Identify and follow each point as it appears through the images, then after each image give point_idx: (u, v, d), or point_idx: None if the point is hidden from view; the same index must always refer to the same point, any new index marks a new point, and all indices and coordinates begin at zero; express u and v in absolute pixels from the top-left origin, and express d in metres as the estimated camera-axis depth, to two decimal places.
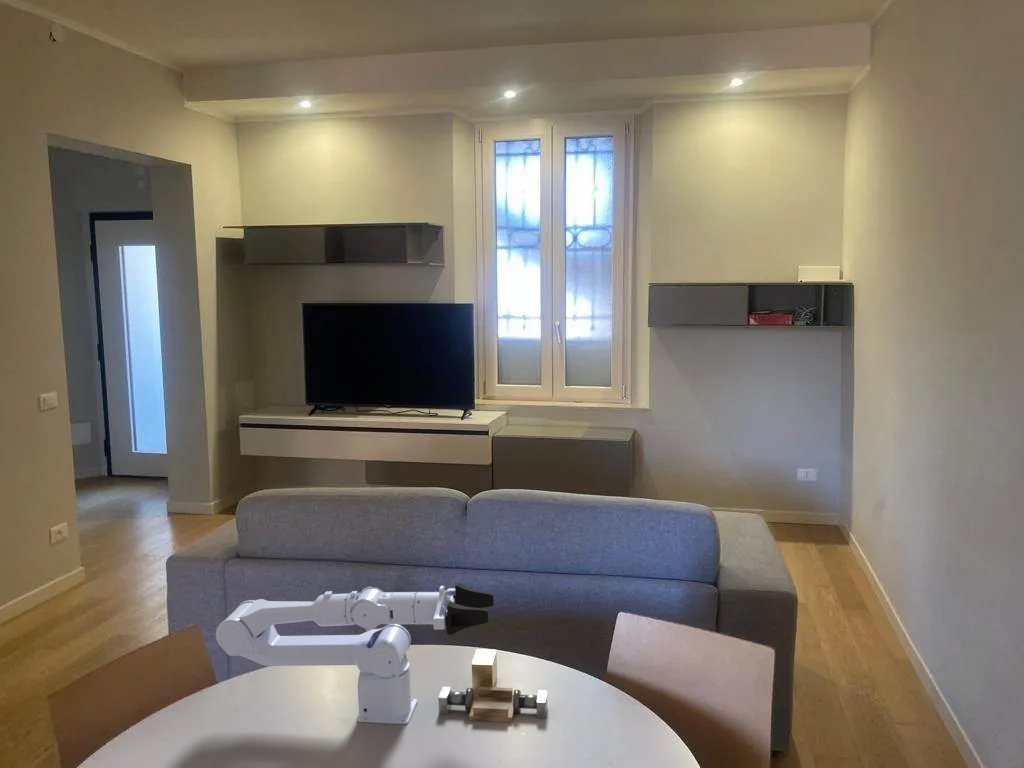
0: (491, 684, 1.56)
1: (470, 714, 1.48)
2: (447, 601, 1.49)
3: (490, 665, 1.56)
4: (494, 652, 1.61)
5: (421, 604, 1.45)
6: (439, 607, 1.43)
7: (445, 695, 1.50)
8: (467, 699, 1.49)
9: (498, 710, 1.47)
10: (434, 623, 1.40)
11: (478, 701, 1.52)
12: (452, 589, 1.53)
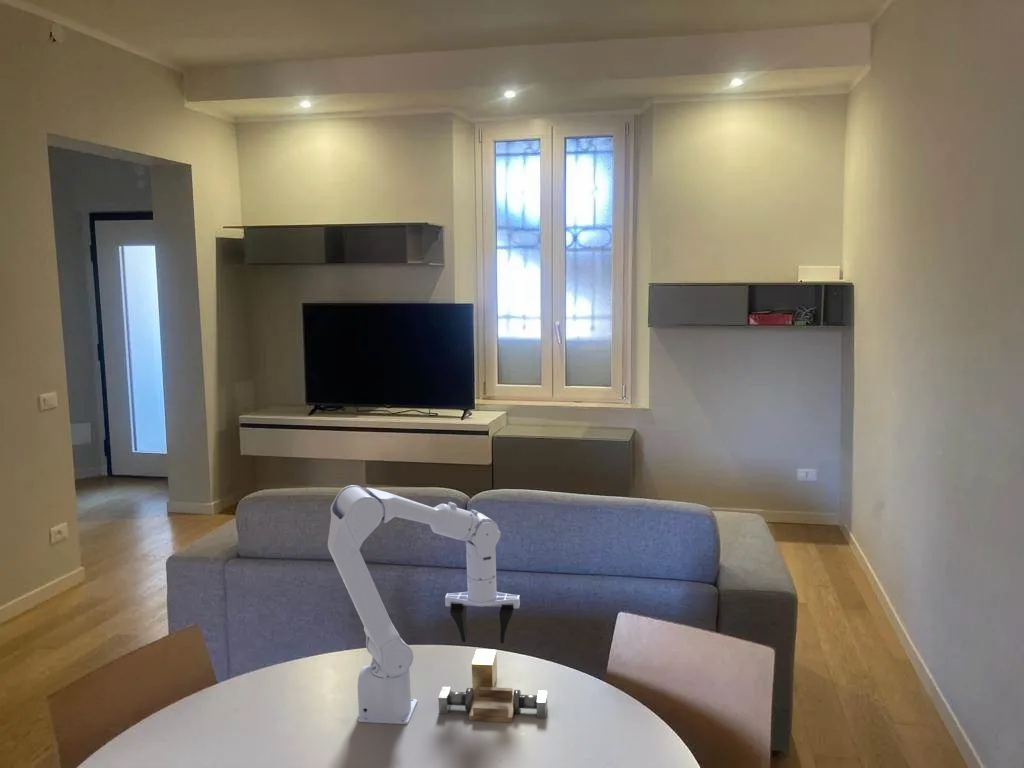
0: (491, 684, 1.56)
1: (470, 714, 1.48)
2: None
3: (490, 665, 1.56)
4: (494, 652, 1.61)
5: None
6: (504, 595, 1.58)
7: (445, 695, 1.50)
8: (467, 699, 1.49)
9: (498, 710, 1.47)
10: (519, 597, 1.56)
11: (478, 701, 1.52)
12: None
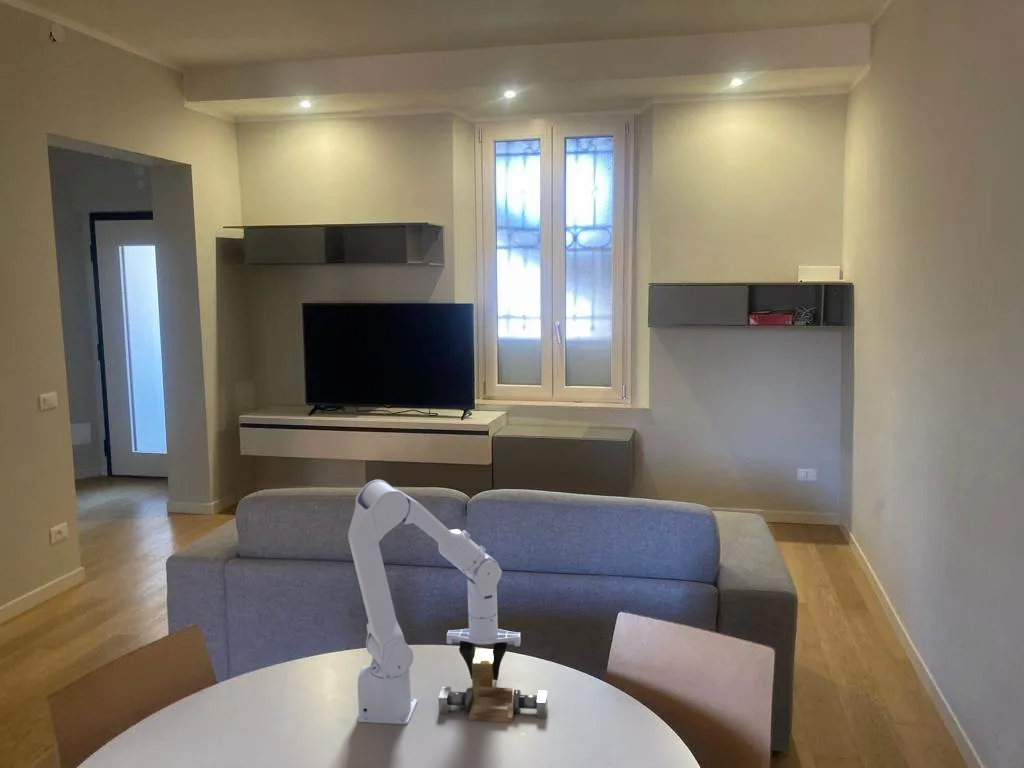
0: (491, 684, 1.56)
1: (470, 714, 1.48)
2: None
3: (490, 665, 1.56)
4: None
5: None
6: None
7: (445, 695, 1.50)
8: (467, 699, 1.49)
9: (498, 710, 1.47)
10: (520, 635, 1.58)
11: (478, 701, 1.52)
12: None
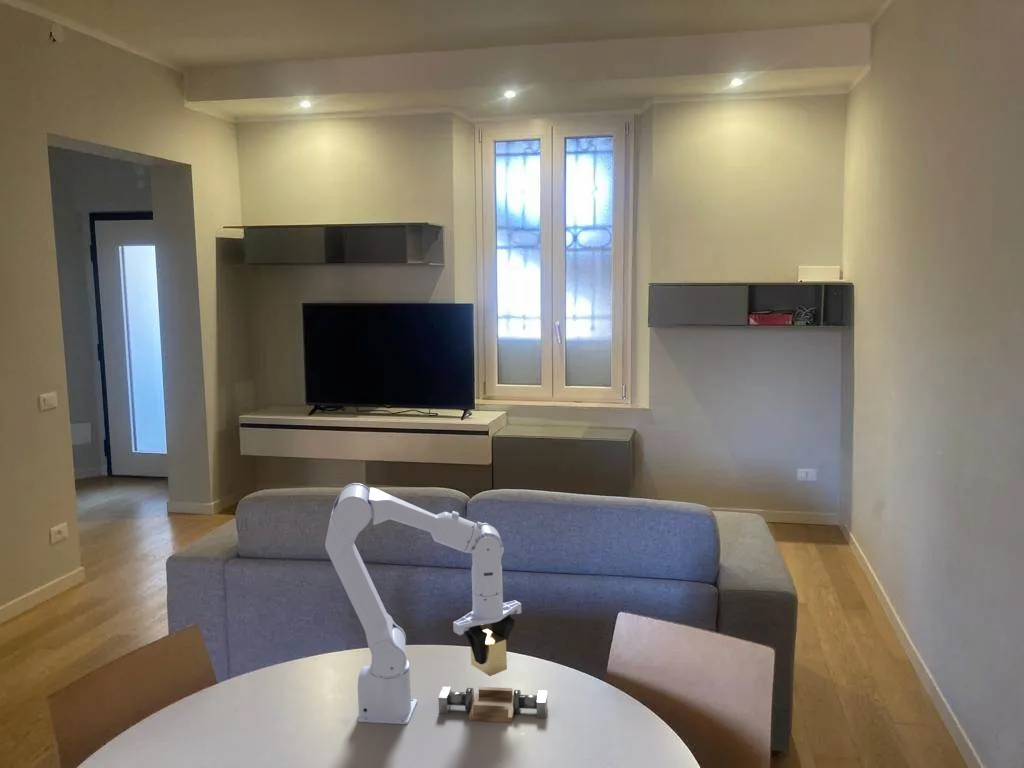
0: (505, 660, 1.51)
1: (470, 714, 1.48)
2: None
3: (504, 640, 1.51)
4: (489, 630, 1.55)
5: None
6: None
7: (445, 695, 1.50)
8: (467, 699, 1.49)
9: (498, 710, 1.47)
10: None
11: (478, 701, 1.52)
12: None
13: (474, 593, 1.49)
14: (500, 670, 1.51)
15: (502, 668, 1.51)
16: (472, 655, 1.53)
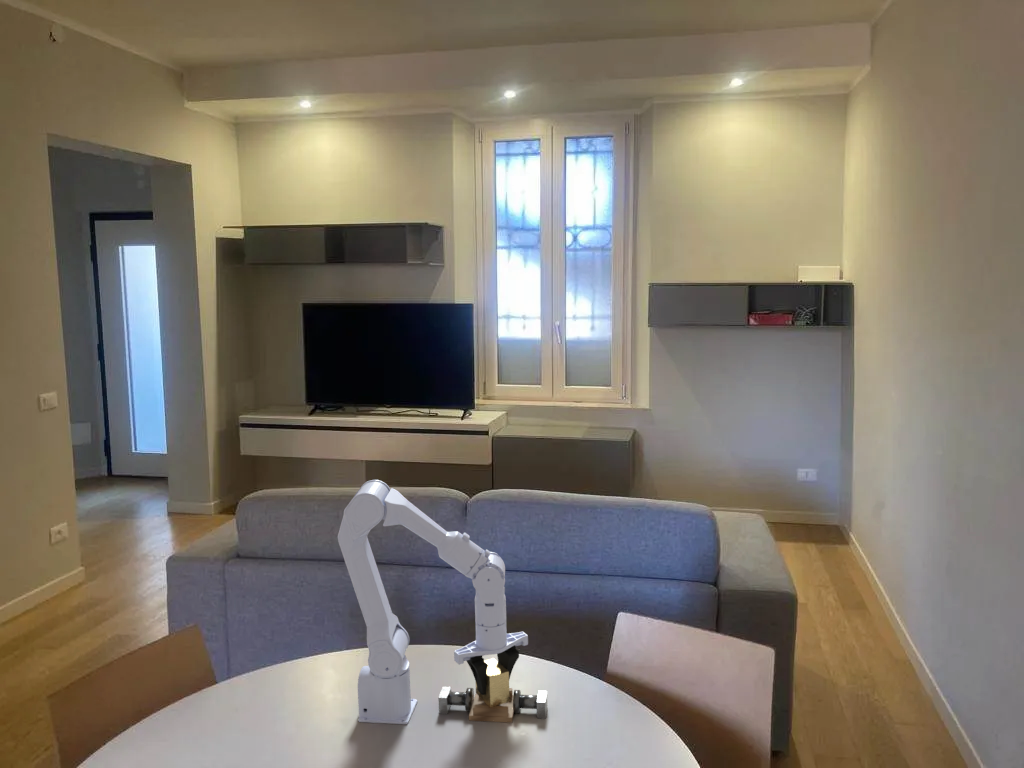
0: (508, 692, 1.49)
1: (470, 714, 1.48)
2: None
3: (507, 672, 1.48)
4: (495, 660, 1.52)
5: None
6: None
7: (445, 695, 1.50)
8: (467, 699, 1.49)
9: (498, 710, 1.47)
10: (525, 634, 1.52)
11: (478, 701, 1.52)
12: None
13: (476, 623, 1.47)
14: (502, 702, 1.48)
15: (504, 700, 1.48)
16: (476, 684, 1.51)
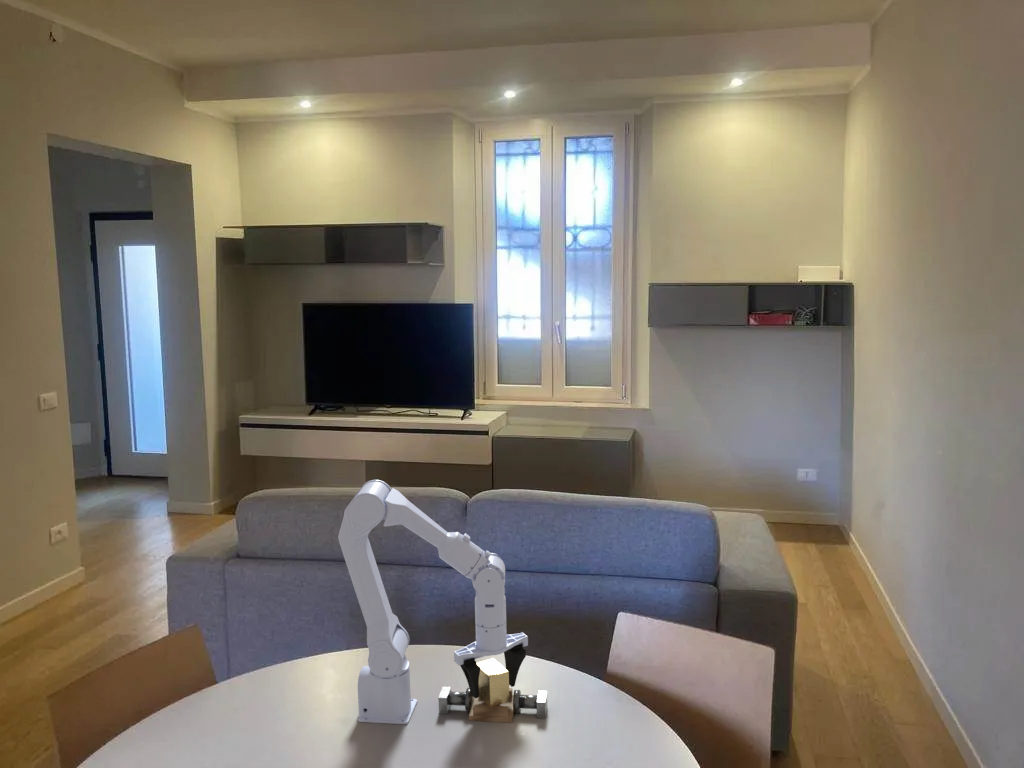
0: (508, 692, 1.49)
1: (470, 714, 1.48)
2: None
3: (507, 672, 1.48)
4: (495, 660, 1.52)
5: None
6: None
7: (445, 695, 1.50)
8: (467, 699, 1.49)
9: (498, 710, 1.47)
10: None
11: (478, 701, 1.52)
12: None
13: (476, 624, 1.47)
14: (502, 702, 1.48)
15: (504, 700, 1.48)
16: None
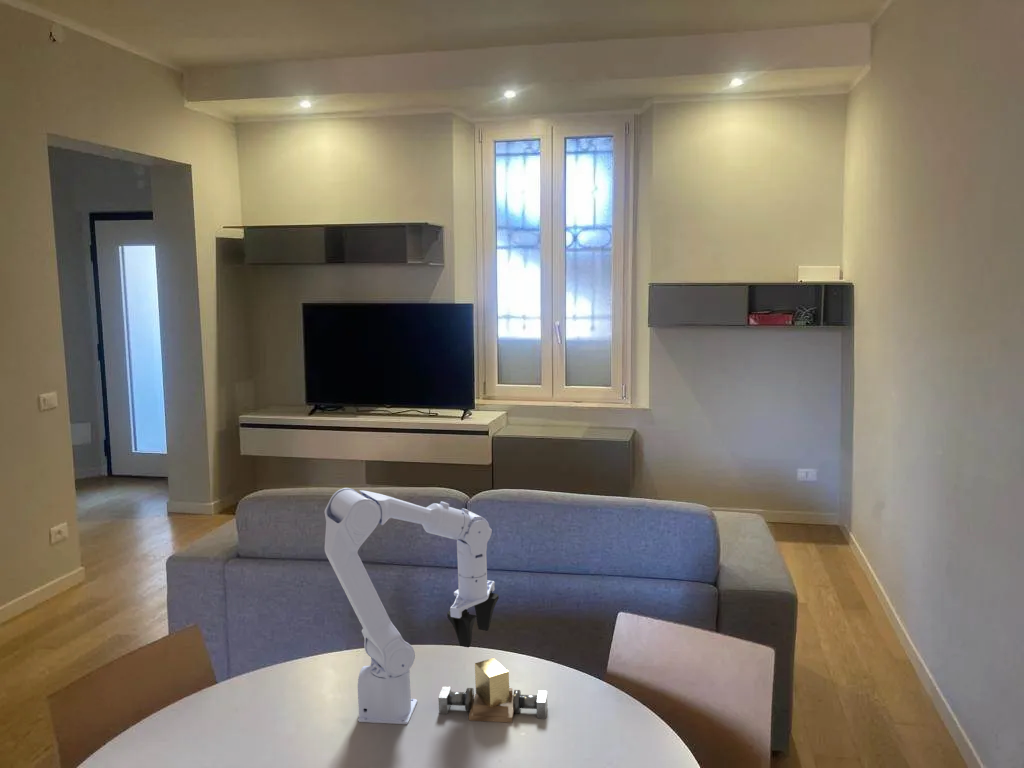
0: (508, 692, 1.49)
1: (470, 714, 1.48)
2: None
3: (507, 672, 1.48)
4: (495, 660, 1.52)
5: None
6: None
7: (445, 695, 1.50)
8: (467, 699, 1.49)
9: (498, 710, 1.47)
10: (489, 581, 1.65)
11: (478, 701, 1.52)
12: None
13: (464, 577, 1.55)
14: (502, 702, 1.48)
15: (504, 700, 1.48)
16: (476, 684, 1.51)
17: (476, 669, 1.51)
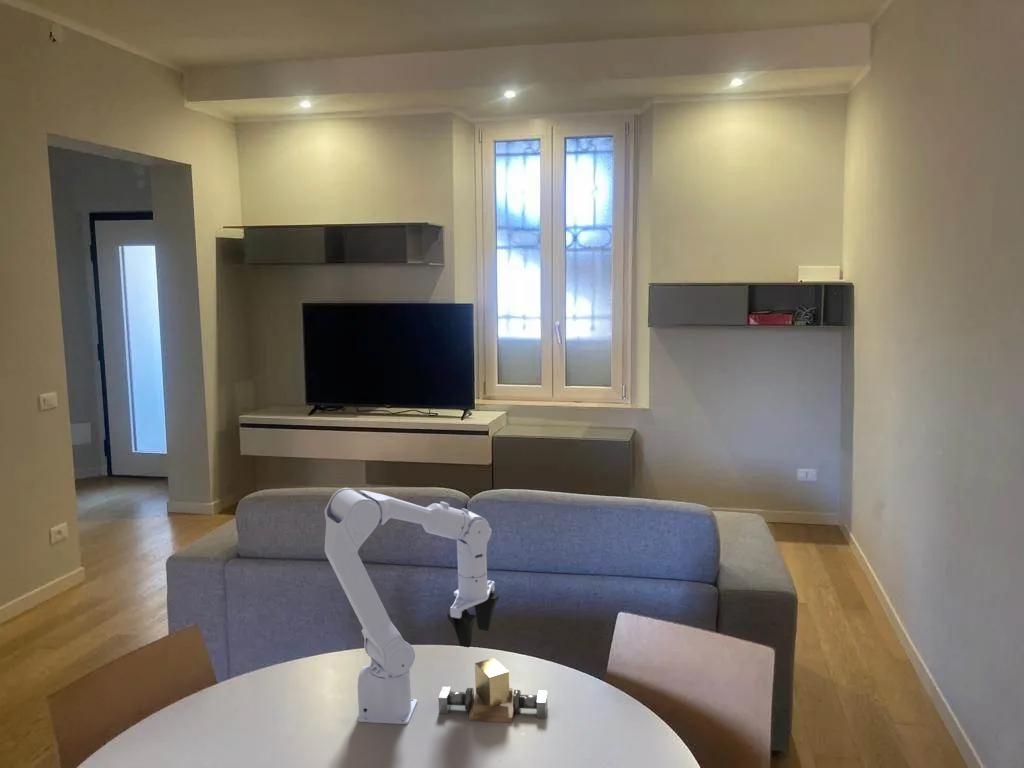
0: (508, 692, 1.49)
1: (470, 714, 1.48)
2: None
3: (507, 672, 1.48)
4: (495, 660, 1.52)
5: None
6: None
7: (445, 695, 1.50)
8: (467, 699, 1.49)
9: (498, 710, 1.47)
10: (489, 581, 1.65)
11: (478, 701, 1.52)
12: None
13: (464, 577, 1.55)
14: (502, 702, 1.48)
15: (504, 700, 1.48)
16: (476, 684, 1.51)
17: (476, 669, 1.51)
